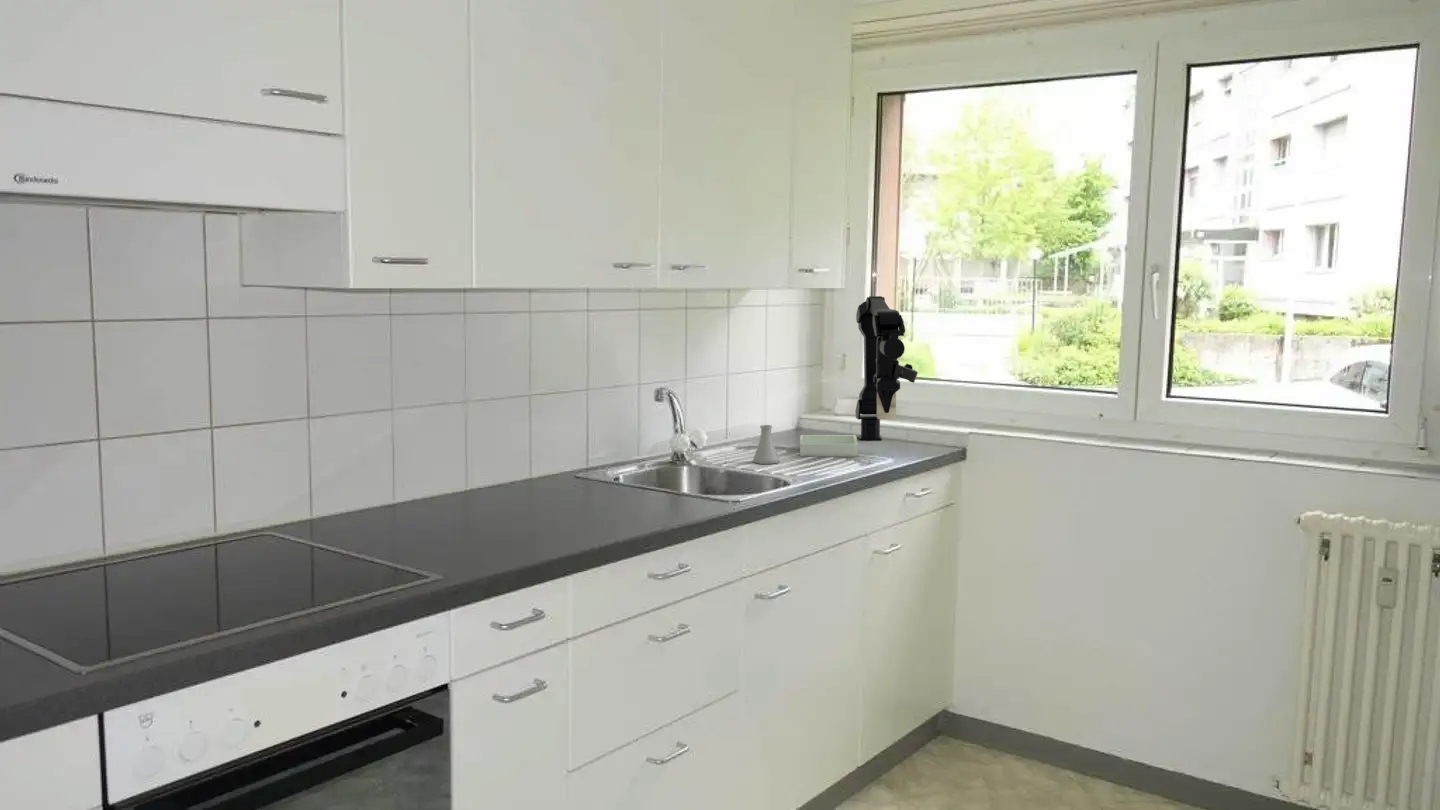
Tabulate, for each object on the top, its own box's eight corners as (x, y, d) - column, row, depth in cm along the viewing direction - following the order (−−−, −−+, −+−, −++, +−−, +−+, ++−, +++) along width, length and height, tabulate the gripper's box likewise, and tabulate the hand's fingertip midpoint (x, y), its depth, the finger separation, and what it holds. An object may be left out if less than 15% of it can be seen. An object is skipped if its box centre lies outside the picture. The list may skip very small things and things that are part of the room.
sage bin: (800, 446, 327) (800, 434, 327) (855, 447, 326) (855, 435, 326) (800, 456, 312) (800, 444, 311) (858, 456, 310) (858, 444, 310)
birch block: (876, 416, 318) (876, 392, 317) (894, 416, 318) (894, 392, 317) (877, 419, 313) (877, 394, 312) (895, 419, 313) (896, 394, 312)
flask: (748, 461, 305) (748, 425, 304) (772, 459, 308) (771, 423, 307) (760, 465, 299) (760, 428, 297) (784, 463, 302) (784, 426, 300)
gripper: (919, 359, 303) (918, 416, 305) (913, 353, 322) (912, 407, 324) (877, 359, 304) (876, 416, 306) (873, 353, 322) (873, 407, 324)
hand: (886, 411), depth 315 cm, fingers closed on birch block, 5 cm apart
